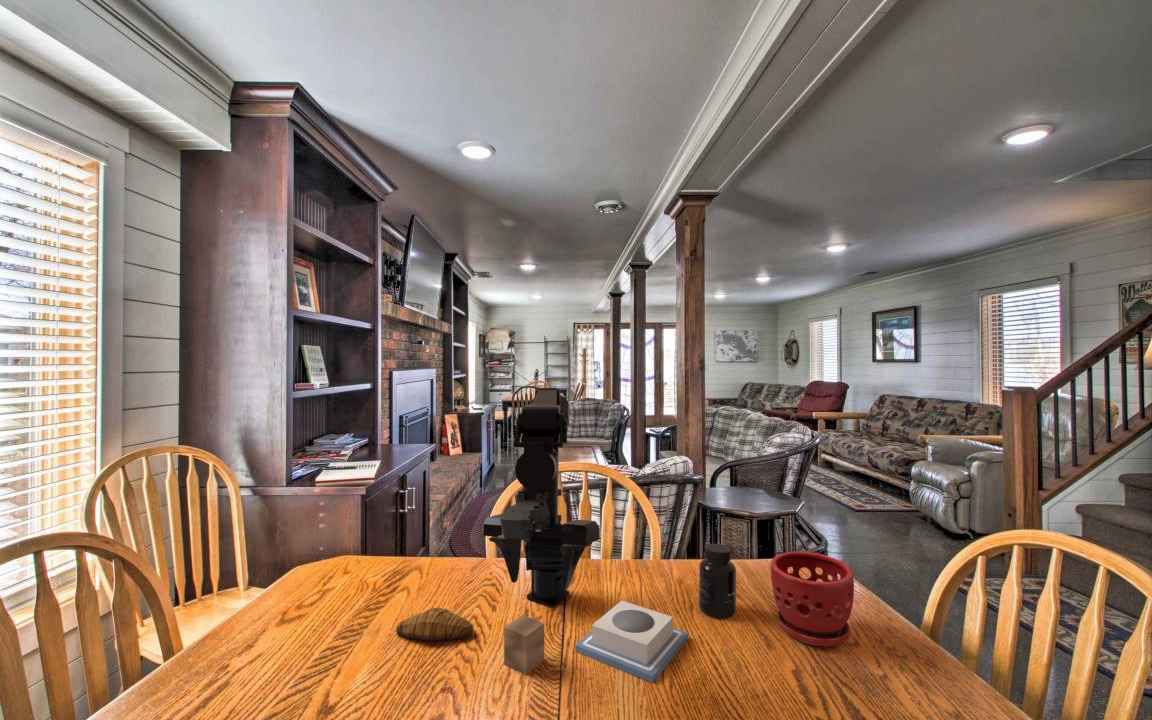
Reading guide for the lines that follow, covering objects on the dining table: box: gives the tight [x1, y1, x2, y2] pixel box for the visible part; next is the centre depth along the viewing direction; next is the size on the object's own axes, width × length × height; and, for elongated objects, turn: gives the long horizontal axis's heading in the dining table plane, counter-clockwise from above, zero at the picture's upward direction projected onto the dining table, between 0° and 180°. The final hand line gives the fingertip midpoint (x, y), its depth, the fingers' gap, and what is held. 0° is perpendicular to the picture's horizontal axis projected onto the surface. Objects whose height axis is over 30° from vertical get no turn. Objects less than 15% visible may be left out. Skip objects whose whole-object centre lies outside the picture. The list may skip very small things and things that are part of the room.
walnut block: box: [503, 614, 545, 676], centre depth 78 cm, size 4×4×6 cm
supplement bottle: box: [698, 543, 737, 620], centre depth 94 cm, size 7×7×12 cm
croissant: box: [395, 607, 474, 642], centre depth 86 cm, size 14×7×5 cm, turn 87°
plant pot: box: [770, 551, 855, 648], centre depth 87 cm, size 13×13×12 cm
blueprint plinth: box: [574, 600, 690, 684], centre depth 83 cm, size 14×14×4 cm
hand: (539, 585), depth 77 cm, fingers open, 9 cm apart
